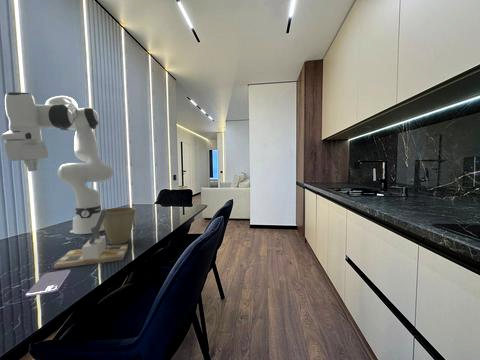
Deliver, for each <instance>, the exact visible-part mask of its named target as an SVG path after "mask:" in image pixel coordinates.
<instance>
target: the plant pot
mask: <svg viewBox="0 0 480 360" xmlns="http://www.w3.org/2000/svg"><path fill="white" fill-rule="evenodd" d="M106 209H107V212H106V214H105V217H104V219H103V222H102V223H103V226H104V229H105V230H104V233H105V236H106V238H107V239H108V241H109V243H110V245H111V246H115V245H124V244H127V242H128V241H129V238H130V236H131V233H132V229H133V225H134V222H135V221H134V219H135V215H136V208H135V207H123V206H122V207H112V208H106ZM102 210H103V209H101V211H100V213H101V212H102Z"/></svg>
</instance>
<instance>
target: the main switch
mask: <svg viewBox="0 0 480 360" xmlns="http://www.w3.org/2000/svg"><path fill="white" fill-rule="evenodd" d="M107 209H108V208H105V207H104V208H103V209H101V210H102V212H101V215H100V217H99V220H98V222H97V225H96V227H95V229H94V232H93V233H91V234H92V235H91V238H90V239H89V240H90V241H89V240H88V241H89V244H93V242H94V241H95V240H96V237H97V234H98V232H99V229H100V227H101V224H102V222H103V219H104V217H105V214H106V212H107ZM99 233H100V232H99Z"/></svg>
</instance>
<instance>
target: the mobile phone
mask: <svg viewBox="0 0 480 360" xmlns="http://www.w3.org/2000/svg"><path fill="white" fill-rule="evenodd" d="M70 272H71V269H65V270H56V271H50V272H46V273H43V274H42V276H41V277H40V278H39V279H38V280H37V281H36V282H35V283H34V285H33V286H32V287H31V288H30V289H29V290H28V291H27V292H26V293H25V297H31V296H32V297H33V296H37V295H42V294H48V293H49V294H50V293H54V292H56V291H58V290H59V289H60V287H62V285H63V283H64V282H65V280H66V278H67V277H68V276H69V274H70Z"/></svg>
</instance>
